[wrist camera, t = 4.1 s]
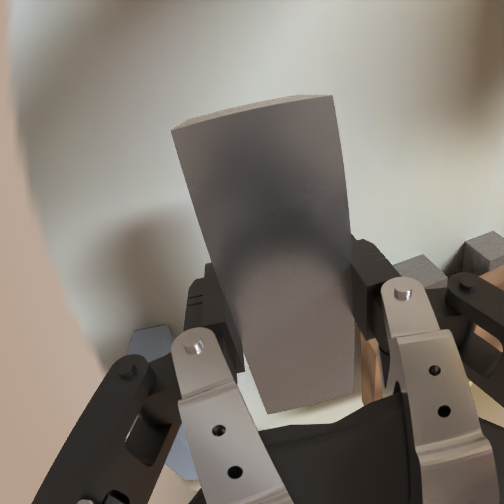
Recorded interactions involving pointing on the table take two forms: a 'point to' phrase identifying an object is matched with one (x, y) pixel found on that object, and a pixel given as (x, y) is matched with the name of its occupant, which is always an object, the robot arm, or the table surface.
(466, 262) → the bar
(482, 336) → the slab
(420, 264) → the bar middle
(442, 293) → the robot arm
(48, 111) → the table surface
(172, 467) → the stop block
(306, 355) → the bar loose
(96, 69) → the table surface
